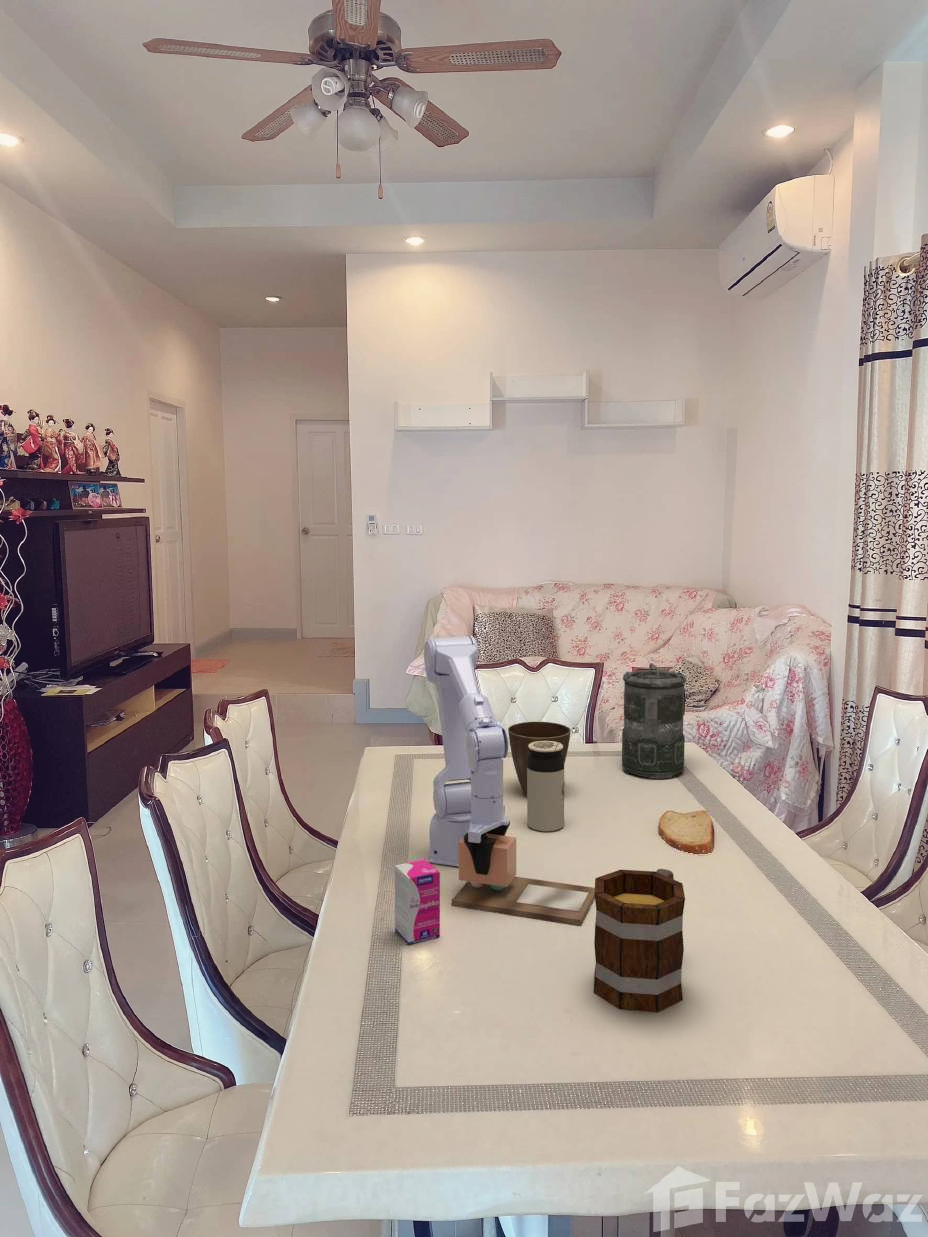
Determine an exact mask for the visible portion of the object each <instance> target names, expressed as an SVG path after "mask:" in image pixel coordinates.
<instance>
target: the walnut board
mask: <svg viewBox="0 0 928 1237" xmlns="http://www.w3.org/2000/svg"><path fill="white" fill-rule="evenodd" d="M594 893H595V887H592V886H584V885H579V884H578V885H577V884H570V883H564V882H557V881H549V880H541V879H535V878H529V877H528V878H527V877H522V876H515V877H514V878H513V880H512V881H511V882H510V884H509V885H508V886H507V887H504V889H502V890H500V891H496V890H494V889H492V888H491V886H490V885H489V884H484V885H483V886H482V887H480V888H476V887H474V886H472V885H471V883H470V882H469V881H466V882H465V883H464V885H463V886H461V888H460V889H459V891H458V892H457V893H456V894H455V895H454V897H453V898H452V899H451V906H452V907H453V906H454V907H459V908H464V907H465V909H466V908H467V909H471V908H472V909H471V910H477V909H480V910H479V911H483V910H486V911H485V912H490V913H496V912H498V914H502V913H504V914H503V915H509V916H510V915H511V916H515V917H522V918H523V917H524V918H530V919H534V920H541V921H547V922H555V923H561V924H566V925H574V926H579V927H580V926H582V924H583V923H584V921H585V919H586V916H587V914H588V913H589V912H590V909H591V906H592V905H593V903H594V901H595V894H594Z"/></svg>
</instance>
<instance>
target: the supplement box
mask: <svg viewBox="0 0 928 1237" xmlns="http://www.w3.org/2000/svg"><path fill="white" fill-rule="evenodd" d="M394 932H396V933H397V935H398V936H399V937H401V938H400V939H402V940H403V941H404V943H405V944H406V945H413V944H416V943H420V942H424V941H428V940H432V939H438V938H440V937H441V871H439V870H438V869H437V868H436V867H435V866H434V865H432V863H430V862H428V860H427V859H421V860H416V861H415V860H414V861H411V862H407V863H406V862H405V863H401V864H396V865H394Z"/></svg>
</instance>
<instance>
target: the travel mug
mask: <svg viewBox="0 0 928 1237" xmlns="http://www.w3.org/2000/svg"><path fill="white" fill-rule="evenodd" d="M528 747H529V749H530V755H529V757H528V759H527V796H526V799H527V800H526V804H527V805H526V806H527V807H526V808H527V810H526V812H527V813H526V814H527V817H526V820H527V821H526V822H527V826H528V827H529V828H530V829H532V830H535V831H539V832H554V831H559V830H561V829H562V828H564V826H565V763H564V758H563V757H562V755H561V752H562V749H563V745H562V744H561V743H558V742H554V741H536V742H532V743H530V744H529V745H528Z"/></svg>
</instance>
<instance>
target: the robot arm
mask: <svg viewBox="0 0 928 1237" xmlns="http://www.w3.org/2000/svg"><path fill="white" fill-rule="evenodd" d="M423 646H424V648H423V658H424V659H423V661H424V671H425V676H426V680H427V681H428V682H429V683H432V684H434V686H435V690H436V695H437V701H438V702H437V703H438V711H439V712H438V713H439V719H440V728H441V729H440V730H441V738H442V746H443V754H444V763H445V765H444V766H445V767H444V768H443V769H442V770H441V771H440V772H438V773H437V775H435V777H434V779H433V793H432V794H433V796H432V799H433V807H434V811H435V813H434V814H433V815H432V818H431V820H430V824H429V829H428V830H429V831H428V832H429V859H428V860H427V861H428V862H429V863H430V864H437V865H446V866H452V867H453V866H454V867H457V868H459V847H458V842H459V841H460V840H461V839H462V838H463V837H464V843H465V844H466V846H467V847H468V849H469V851H470V854H471V856H472V860H473V864H474V868H475V871H476V874H482V875H487V874H488V872H489V868H490V859H491V853H492V849H493V846H494V844H495V842H496V840H497V839H496V838H489V837H488V835H487V836H486V833H487V834H494V835H502V836H506V834H507V831H508V829H509V827H510V825H511V820H510V817H505V815H506V805H505V804H504V759H506V758H507V757H508V754H509V736H508V732H507V730H506V728H505V726H504V725H503V724H502V723H501V722H500V721H496V718H495V715H494V712H493V710H492V707H491V703H490V700H489V698H488V697H487V696H485V695H484V694H482V693H481V692H480V689H479V688H480V687H479V685H478V681H477V680H478V679H477V676H476V673H475V670H476V667H477V663H478V660H479V646H478V642H477V640H476V638H475V637H474V636H473V635H467V636H456V637H455V636H454V637H452V636H451V637H435V638H433V637H428V638H427V639H426V640H425V641H424V645H423ZM467 780H468V781H467ZM455 781H456V782H455ZM459 781H462V782H459ZM463 781H464V782H463ZM447 782H452V783H447Z"/></svg>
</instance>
